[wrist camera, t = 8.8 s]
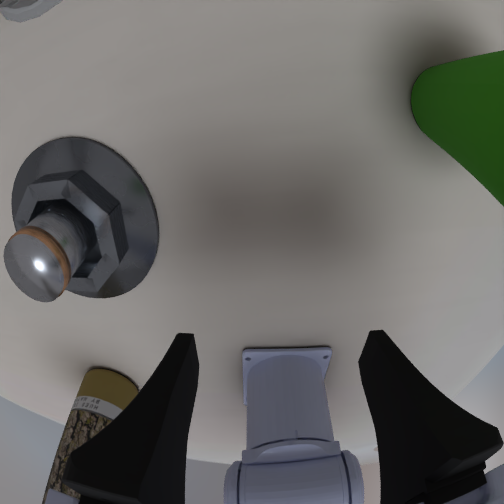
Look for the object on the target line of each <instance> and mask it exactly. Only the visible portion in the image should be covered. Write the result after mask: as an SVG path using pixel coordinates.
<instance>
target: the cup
mask: <svg viewBox="0 0 504 504" xmlns="http://www.w3.org/2000/svg"><path fill="white" fill-rule="evenodd" d="M411 106H412V112H413V114H414V117H415V120H416V122H417V124H418V125H419V127H420V129H421V130H422V131H423V132H424V133H425V134H426V135H427V136H428V137H429V138H430V139H431V140H433V141H434V142H435V143H436V144H437V145H439V146H440V147H441V148H442V149H444V150H445V151H446V152H447V153H448V154H449V155H451V156H452V157H453V158H454V159H455V160H456V161H457V162H459V163H460V164H461V165H462V166H463V167H464V168H465V169H466V170H467V171H469V172H470V173H471V174H472V175H473V176H474V177H475V178H476V179H477V180H478V181H479V182H480V183H481V184H482V185H483V186H484V187H485V188H486V189H487V190H488V191H489V192H490V193H491V194H492V195H493V196H494V197H495V198H496V199H497V200H498V201H499V202H500V203H501V204H502V205H503V206H504V50H503V51H498V52H493V53H488V54H483V55H478V56H473V57H469V58H465V59H461V60H456V61H452V62H449V63H445V64H441V65H437V66H434V67H430V68H429V69H427V70H425V71H424V72H423V73H422V74H421V75H420V76H419V77H418V79H417V80H416V82H415V84H414V86H413V89H412V93H411Z"/></svg>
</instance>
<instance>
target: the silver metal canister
mask: <svg viewBox="0 0 504 504" xmlns="http://www.w3.org/2000/svg"><path fill="white" fill-rule="evenodd" d="M97 243H98V239H97V235H96V231H95V227H94V223H93V222H92V221H91V220H90V219H89V218H87V217H86V216H85V215H84V214H83V213H82V212H80V211H79V210H78V209H77V208H76V207H75V206H74V205H72V204H71V203H70V202H69V201H68V200H67V199H66V198H64V199H57V200H56V201H55V202H54V203H52V204H51V205H50V206H49V207H47V208H46V209H45V210H44V211H43V212H41V213H40V214H39V215H38V216H37V217H35V218H34V219H33V220H32V221H31V222H30V223H28V224H27V225H26V226H25V227H22V228H21V229H19V230H18V231H17V232H16V233H15V234H14V235H13V236H11V238H10V239H9V241H8V243H7V244H6V246H5V249H4V262H5V266H6V269H7V271H8V273H9V275H10V277H11V279H12V280H13V282H14V283H15V284H16V286H17V287H18V288H19V289H20V290H21V291H22V292H23V293H25V294H26V295H27V296H29V297H31V298H32V299H34V300H37V301H40V302H51V301H53V300H55V299H56V298H57V297H59V296H60V295H61V294H62V293H63V291H64V290H65V289H66V287H67V286H68V284H69V282H70V280H71V277H72V276H73V275H74V273H75V272H76V270H77V269H78V268H79V266H80V265H81V264H82V262H83V261H84V260H85V258H86V257H87V256H88V254H89V253H90V252H91V251H92V249H93V248H94V247H95V245H96V244H97Z"/></svg>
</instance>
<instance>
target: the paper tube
mask: <svg viewBox="0 0 504 504" xmlns="http://www.w3.org/2000/svg"><path fill="white" fill-rule="evenodd" d="M137 394H138V390H137V388H136V387H135V385H134V384H133V383H132V382H130V381H129V380H128V379H127V378H125V377H124V376H122V375H120V374H118V373H116V372H113V371H110V370H106V369H93V370H91V371H89V372H87V373H86V375H85V376H84V379H83V381H82V384H81V386H80V389H79V391H78V394H77V397H76V399H75V401H74V404H73V406H72V409H71V412H70V414H69V417H68V420H67V423H66V426H65V428H64V431H63V435H62V438H61V440H60V443H59V447H58V449H57V452H56V456H55V459H54V462H53V465H52V469H51V472H50V475H49V479H48V483H47V486H46V490H45V494H44V498H43V502H42V504H45V501H46V497H47V494H48V490H49V489H50V488H51V489H53V490H56V491H58V492H61V493H63V494H66V495H69V496H71V497H74V498H76V499H78V500H80V496H81V494H79V493H77V492H76V491H74V490H72V489H71V488H69V487H68V486H66V485H65V484H64V483H63V482H62V480H61V479H62V476H63V472H64V468H65V465H66V462H67V459H68V457H69V455H70V453H71V452H72V451H74V450H75V449H77V448H78V447H79V446H81V445H82V444H84V443H85V442H87V441H88V440H90V439H91V438H92V437H94V436H95V435H96V434H97V433H99V432H100V431H101V430H102V429H103V428H105V427H106V426H107V425H108V424H109V423H110V422H112V421H113V420H114V419H115V418H116V417H117V416H118V415H119V414H120V413H121V412H122V411H123V410H124V409H125V408H126V407H127V406H128V404H129V403H130V402H131V401H132V400H133V399H134V398H135V396H136V395H137Z"/></svg>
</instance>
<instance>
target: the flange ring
mask: <svg viewBox="0 0 504 504" xmlns="http://www.w3.org/2000/svg"><path fill="white" fill-rule="evenodd" d="M64 198H66V199H67V200H68V201H69V202H70V203H71V204H72V205H74V206H75V207H76V208H77V209H78V210H79V211H80V212H82V213H83V214H84V215H85V216H86V217H87V218H89V219H90V220H91V221H92V222H93V223H94V227H95V231H96V235H97V239H98V243H97V244H96V245H95V247H94V248H93V249H92V251H91V252H90V253H89V254H88V256H87V257H86V258H85V260H84V261H83V262H82V264H81V265H80V266H79V268H78V269H77V270H76V272H75V273H74V275H73V276H72V277H71V280H70V282H69V284H68V286H67V287H66V289H65V290H68V291H70V292H73V293H75V294H78V295H82V296H86V297H92V298H110V297H115V296H119V295H122V294H124V293H126V292H128V291H130V290H132V289H133V288H135V287H136V286H137V285H138V284H139V283H140V282H141V281H142V280H143V279H144V278H145V276H146V275H147V274H148V272H149V270H150V268H151V266H152V264H153V262H154V259H155V256H156V253H157V248H158V242H159V227H158V219H157V214H156V210H155V207H154V204H153V201H152V198H151V196H150V194H149V192H148V189H147V187H146V186H145V184H144V182H143V181H142V179H141V178H140V176H139V175H138V174H137V172H136V171H135V170H134V169H133V167H132V166H131V165H130V164H129V163H128V162H127V161H126V160H125V159H124V158H123V157H121V156H120V155H119V154H117V153H116V152H115V151H114V150H112V149H110V148H108V147H107V146H105V145H103V144H101V143H98V142H96V141H93V140H90V139H85V138H78V137H67V138H60V139H57V140H53V141H51V142H48V143H46V144H44V145H42V146H40V147H39V148H38V149H36V150H35V151H33V152H32V153H31V154H30V155H29V156H28V157H27V158H26V160H25V161H24V163H23V164H22V166H21V167H20V169H19V171H18V173H17V176H16V179H15V182H14V186H13V191H12V215H13V221H14V225H15V229H16V232H17V231H18V230H19V229H21V228H22V227H25V226H26V225H27V224H28V223H30V222H31V221H32V220H33V219H34V218H35V217H37V216H38V215H39V214H40V213H41V212H43V211H44V210H45V209H46V208H47V207H49V206H50V205H51V204H52V203H54V202H55V201H56V200H57V199H64Z"/></svg>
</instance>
